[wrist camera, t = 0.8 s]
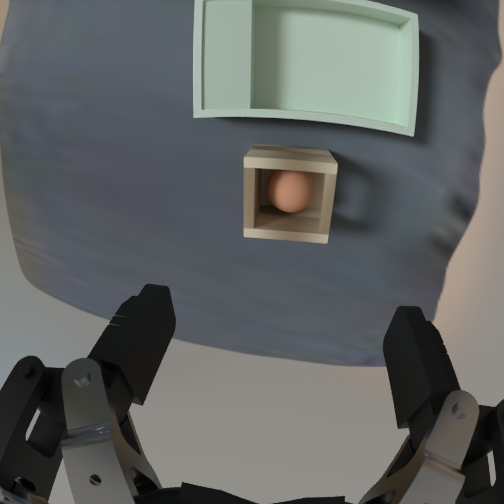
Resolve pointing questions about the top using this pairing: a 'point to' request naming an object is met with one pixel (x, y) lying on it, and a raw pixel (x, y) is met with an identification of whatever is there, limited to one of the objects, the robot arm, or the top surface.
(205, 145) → the top surface
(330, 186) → the open wooden box
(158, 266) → the top surface
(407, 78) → the tray
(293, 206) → the ball
